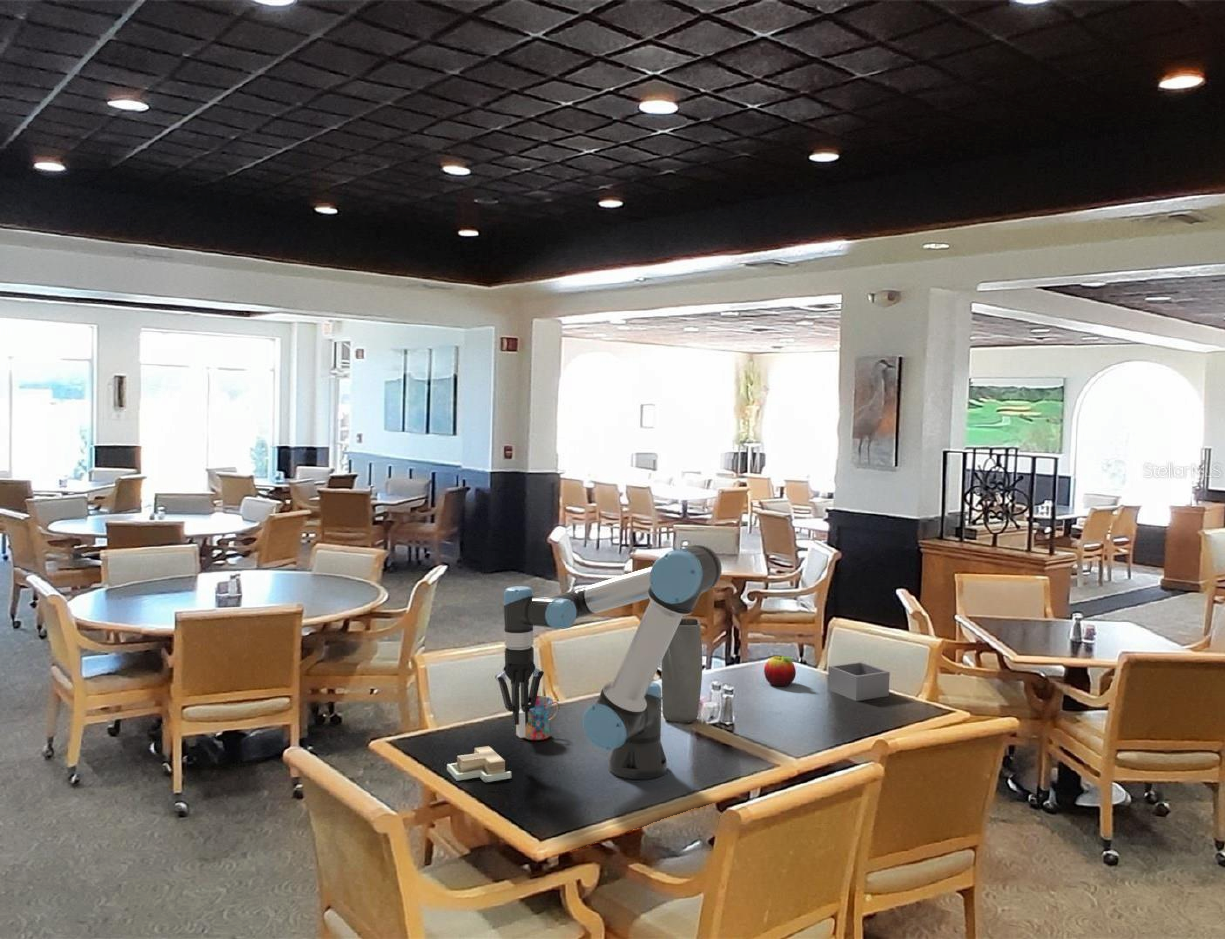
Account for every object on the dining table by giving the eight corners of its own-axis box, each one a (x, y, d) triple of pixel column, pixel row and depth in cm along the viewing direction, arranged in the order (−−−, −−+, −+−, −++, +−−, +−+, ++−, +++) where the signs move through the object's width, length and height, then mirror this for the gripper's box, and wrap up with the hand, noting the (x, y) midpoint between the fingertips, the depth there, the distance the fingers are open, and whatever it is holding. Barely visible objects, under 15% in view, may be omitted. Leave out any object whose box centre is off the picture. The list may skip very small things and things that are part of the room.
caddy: (888, 695, 325) (889, 672, 325) (855, 701, 319) (856, 676, 318) (860, 685, 338) (860, 662, 337) (827, 689, 331) (828, 666, 331)
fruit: (777, 678, 344) (778, 650, 344) (802, 685, 336) (803, 656, 335) (757, 683, 338) (757, 654, 337) (781, 690, 329) (782, 661, 329)
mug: (528, 744, 273) (529, 707, 272) (514, 735, 281) (514, 698, 280) (566, 737, 279) (567, 701, 279) (551, 728, 287) (552, 692, 287)
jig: (511, 778, 249) (511, 772, 248) (461, 786, 243) (461, 780, 242) (489, 757, 263) (489, 752, 263) (442, 764, 257) (442, 759, 257)
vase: (656, 724, 292) (658, 624, 290) (664, 712, 304) (666, 616, 302) (697, 728, 289) (699, 627, 287) (703, 715, 301) (705, 618, 299)
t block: (504, 776, 250) (505, 761, 250) (467, 782, 245) (467, 766, 245) (488, 761, 260) (488, 746, 260) (452, 766, 256) (452, 751, 256)
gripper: (536, 640, 262) (538, 728, 263) (490, 646, 256) (492, 736, 257) (547, 646, 255) (549, 736, 257) (500, 652, 250) (502, 744, 251)
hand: (520, 735), depth 257 cm, fingers closed
